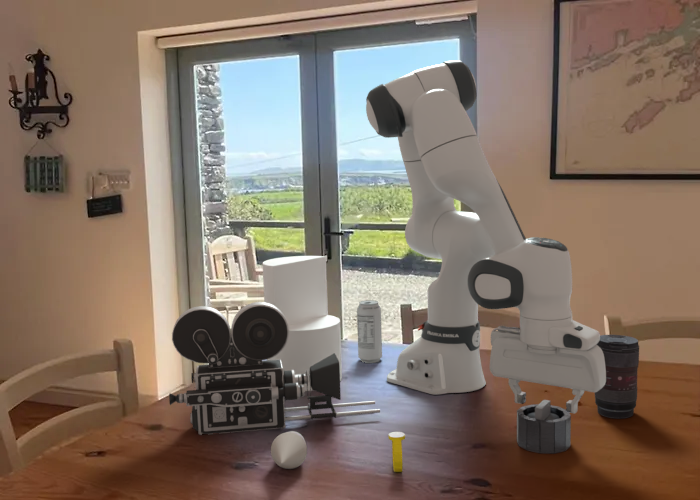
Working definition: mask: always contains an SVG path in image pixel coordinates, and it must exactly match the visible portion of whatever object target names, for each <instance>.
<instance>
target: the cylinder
mask: <svg viewBox="0 0 700 500" xmlns="http://www.w3.org/2000/svg"><path fill="white" fill-rule="evenodd" d="M327 275H328V274H327V256H326V255H323V256H322V255H295V256H283V257H282V256H281V257H275V258H270V259H267V260H264V261H263V262H262V279H263V281H262V282H263V302H266V303H270V304H272V305H274V306H276V307H277V308H278V309H279V310H280V311H281V312H282V313H283V315H284V316H285V318H286V321H287V324H288V329H289V335H288V340H287V343H286V345H285V347H284V348H283V349H282V351H281V352H279V353H278V354H277V355H276V356H274V357H272V358H270V359H267V360H279V359H280V360H281V363H282V367H283V375H284V371H290V370H294V374H295V375H299V374H306V370H307V374H309V372H310V367H311V366H312V365H314V364H316V363H318V362H320V361H321V360H323V359H325V358H327V357H328V356H330V355H332V354H334V353H335V355H336V357H337V359H338V361H339V366H340V382H342V380H343V374H342V373H343V371H342V340H341V339H342V337H341V335H342V334H341V319H340V318H339V317H338V316H337V317H336V316H334V315H330V314H329V313H328V312H329V309H328V307H329V306H328V281H327V280H328V279H327ZM307 376H308V386H307V384H299V385H304V388H305V392H307V389H308V392H310V381H309V375H307ZM312 391H313V392H314V390H312V388H311V392H312Z"/></svg>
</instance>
